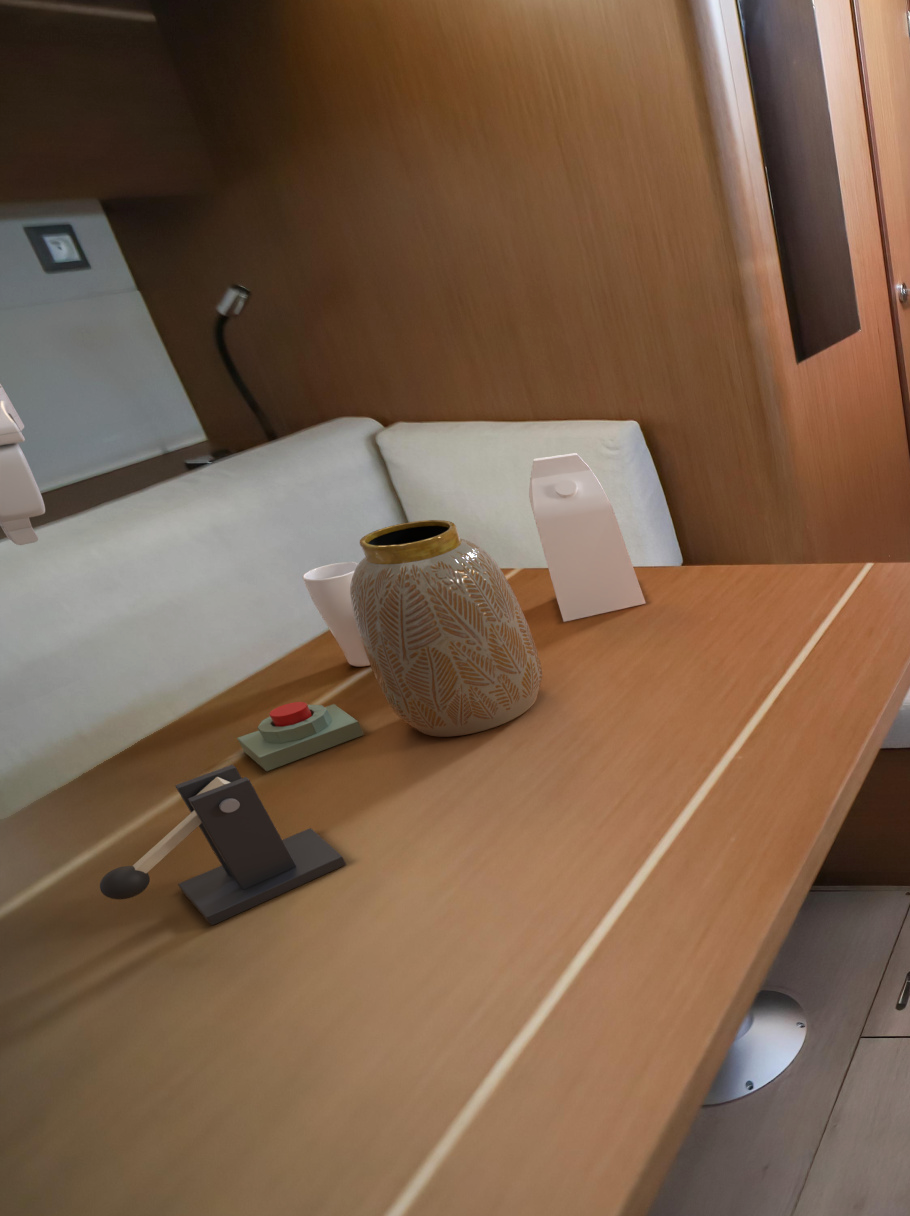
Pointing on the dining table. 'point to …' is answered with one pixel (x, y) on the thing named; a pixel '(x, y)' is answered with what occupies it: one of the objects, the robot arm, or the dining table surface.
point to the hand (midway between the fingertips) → (25, 541)
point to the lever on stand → (247, 849)
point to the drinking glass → (337, 607)
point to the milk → (581, 539)
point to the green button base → (299, 737)
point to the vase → (443, 630)
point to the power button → (290, 714)
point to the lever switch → (150, 857)
